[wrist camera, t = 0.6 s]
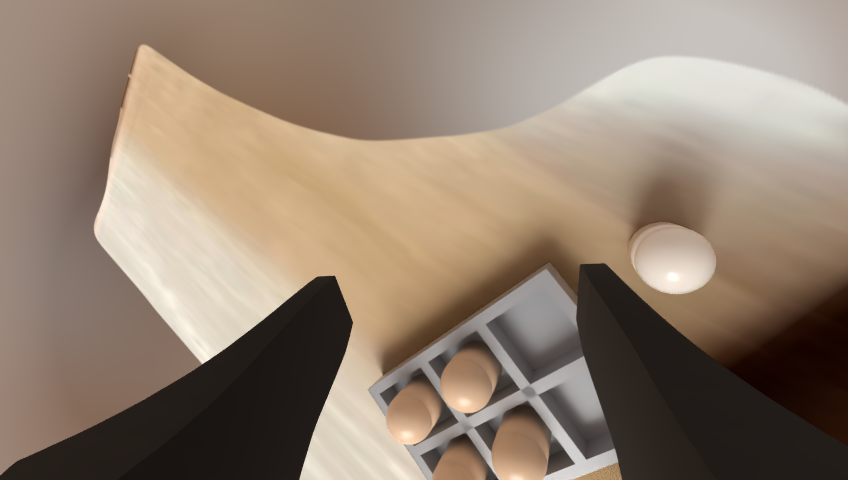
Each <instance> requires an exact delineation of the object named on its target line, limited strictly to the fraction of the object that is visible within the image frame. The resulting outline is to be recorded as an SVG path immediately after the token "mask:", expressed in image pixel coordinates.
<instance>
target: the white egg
mask: <svg viewBox="0 0 848 480" xmlns="http://www.w3.org/2000/svg"><path fill="white" fill-rule="evenodd" d="M628 257H629V260H630V262H631V264H632V266H633V267H634V269H635V270H636V272H637V273H638V275H639V276H640V278H641V279H642V280H643V281H644V282H645V283H646V284H648V285H649V286H650V287H652V288H654V289H656V290H658V291H661V292H664V293H668V294H685V293H689V292H692V291H695V290H697V289H699V288H701V287H702V286H704V285H705V284H706V283H707V282H708V281H709V280H710V279H711V277H712V276H713V274H714V272H715V269H716V263H717V262H716V254H715V251H714V249H713V247H712V245H711V244H710V243H709V241H708V240H707V239H706V238H704V237H703V236H702V235H700V234H699V233H697V232H695V231H693V230H690V229H687V228H685V227H682V226H679V225H677V224H673V223H669V222H656V223H651V224H648V225H646V226H644V227H642V228H640V229H639V230H638V231H637V232H636V233H635V234H634V235H633V236H632V238H631V239H630V242H629V244H628Z"/></svg>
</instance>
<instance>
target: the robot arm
mask: <svg viewBox="0 0 848 480" xmlns="http://www.w3.org/2000/svg"><path fill="white" fill-rule="evenodd" d="M576 322H577V327H578V332H579V337H580V341H581V346H582V351H583V355H584V358H585V361H586V364H587V367H588V370H589V373H590V376H591V379H592V382H593V385H594V388H595V390H596V393H597V396H598V399H599V402H600V405H601V408H602V411H603V414H604V417H605V420H606V423H607V426H608V429H609V432H610V434H611V438H612V441H613V445H614V448H615V451H616V455H617V459H618V463H619V467H620V471H621V476H622V480H848V446H846V445H844V444H843V443H841V442H839V441H838V440H836V439H834V438H833V437H831V436H829V435H827V434H826V433H824V432H822V431H821V430H819V429H818V428H816V427H814V426H813V425H811V424H810V423H808V422H806V421H805V420H803V419H802V418H800V417H798V416H797V415H795V414H794V413H792V412H790V411H789V410H787V409H786V408H784V407H782V406H781V405H779V404H778V403H776V402H775V401H773V400H772V399H770V398H768V397H767V396H765V395H764V394H762V393H761V392H759V391H758V390H756V389H755V388H753V387H752V386H751V385H749V384H748V383H746V382H745V381H743V380H742V379H741V378H739V377H738V376H736V375H735V374H733V373H732V372H731V371H729V370H728V369H726V368H725V367H724V366H722V365H721V364H719V363H718V362H717V361H715V360H714V359H713V358H711V357H710V356H709V355H707V354H706V353H705V352H703V351H702V350H701V349H700V348H698V347H697V346H696V345H695V344H693V343H692V342H691V341H690V340H688V339H687V338H686V337H685V336H683V335H682V334H681V333H680V332H679V331H677V330H676V329H675V328H674V327H673V326H671V325H670V324H669V323H668V322H667V321H666V320H665V319H663V318H662V317H661V316H660V315H659V314H658V313H657V312H656V311H654V310H653V309H652V308H651V307H650V306H649V305H648V304H647V303H646V302H645V301H643V300H642V299H641V298H640V297H639V296H638V295H637V294H636V293H635V292H634V291H633V290H632V289H631V288H630V287H629V286H628V285H627V284H626V283H625V282H624V281H623V280H622V279H620V278H619V277H618V276H617V275H616V274H615V273H614V272H613V271H612V270H611V269H610V268H609V267H608V266H607V265H606V264H605V263H601V264H580V271H579V285H578V298H577V312H576ZM352 325H353V321H352V318H351V316H350V313H349V311H348V308H347V306H346V303H345V300H344V298H343V295H342V293H341V290H340V288H339V285H338V283H337V280H336V277H335V276H320V277H316V278H315V279H313V280H312V281H311V282H309V283H308V284H307V285H305V286H304V287H303V288H302V289H300V290H299V291H298V292H297V293H295V294H294V295H293V296H292V297H291V298H289V299H288V300H287V301H286V302H285V303H283V304H282V305H281V306H280V307H278V308H277V309H276V310H275V311H274V312H272V313H271V314H270V315H269V316H267V317H266V318H265V319H264V320H262V321H261V322H260V323H259V324H257V325H256V326H255V327H253V328H252V329H251V330H249V331H248V332H247V333H246V334H244V335H243V336H242V337H240V338H239V339H238V340H236V341H235V342H234V343H232V344H231V345H230V346H228V347H227V348H226V349H224V350H223V351H221V352H220V353H219V354H217V355H216V356H214V357H213V358H211V359H210V360H208V361H207V362H205V363H204V364H202V365H201V366H199V367H198V368H196V369H195V370H193V371H192V372H190V373H188V374H187V375H185V376H184V377H182V378H180V379H179V380H177V381H175V382H174V383H172V384H170V385H168V386H167V387H165V388H163V389H162V390H160V391H158V392H157V393H155V394H153V395H151V396H150V397H148V398H146V399H145V400H143V401H141V402H139V403H137V404H135V405H133V406H132V407H130V408H128V409H126V410H124V411H123V412H120V413H118V414H117V415H115V416H113V417H111V418H109V419H107V420H105V421H103V422H101V423H99V424H97V425H95V426H93V427H91V428H89V429H87V430H85V431H83V432H80V433H78V434H76V435H74V436H72V437H70V438H67V439H65V440H63V441H61V442H59V443H56V444H54V445H52V446H50V447H48V448H46V449H43V450H41V451H39V452H37V453H35V454H33V455H30V456H28V457H26V458H23V459H21V460H19V461H17V462H15V463H14V464H13V465H12V466H11V467H9V468H8V469H7V470H6V471H5V472H4V473H3V474H2V475H0V480H299V478H300V475H301V471H302V467H303V464H304V461H305V458H306V454H307V451H308V448H309V444H310V441H311V438H312V435H313V432H314V429H315V426H316V424H317V421H318V418H319V416H320V413H321V411H322V409H323V406H324V404H325V401H326V399H327V397H328V394H329V392H330V389H331V387H332V384H333V382H334V380H335V377H336V375H337V372H338V370H339V367H340V365H341V362H342V360H343V357H344V355H345V352H346V348H347V345H348V341H349V337H350V333H351V329H352Z"/></svg>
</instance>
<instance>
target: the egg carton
mask: <svg viewBox="0 0 848 480" xmlns="http://www.w3.org/2000/svg"><path fill="white" fill-rule="evenodd" d="M577 298H578V296H577V295H576V294H575V292H574V291H573V290H572V289H571V288H570V286H569V285H568V284H567V283H566V281H565V280H564V279H563V278H562V276H561V275H560V274H559V273H558V271H557V270H556V269H555V268H554V266H553V265H552V264H551V263H550V262H548V263H547V264H545V265H544V266H542V267H541V268H539V269H538V270H537V271H535V272H534V273H532V274H531V275H529V276H528V277H526V278H525V279H523V280H522V281H520V282H519V283H518V284H516V285H515V286H513V287H512V288H510V289H509V290H507V291H506V292H504V293H503V294H501V295H500V296H498V297H497V298H496V299H494V300H493V301H491V302H490V303H488V304H487V305H485V306H484V307H482V308H481V309H479V310H478V311H477V312H475V313H474V314H472V315H471V316H469V317H468V318H466V319H465V320H463V321H462V322H460V323H459V324H458V325H456V326H455V327H453V328H452V329H450V330H449V331H447V332H446V333H444V334H443V335H441V336H440V337H439V338H437V339H436V340H434V341H433V342H431V343H430V344H428V345H427V346H425V347H424V348H422V349H421V350H420V351H418V352H417V353H415V354H414V355H412V356H411V357H409V358H408V359H406V360H405V361H403V362H402V363H401V364H399V365H398V366H396V367H395V368H393V369H392V370H390V371H389V372H387V373H386V374H384V375H383V376H382V377H381V378H380V379H379V380H377V381H376V382H375V383H374V384H373V385H372V386H371V387H370V388H369V389H368V391H369V393H370V394H371V396H372V397H373V399H374V400H375V402H376V403H377V405H378V406H379V408H380V409H381V411H382V412H383V414H384V415H385V417H386V424H387V428H388V430H389V432H390V434H391V435H392V437H393V438H394V439H395V440H397V441H398V442H400V443H403V444H404V446H405V447H406V449H407V450H408V452H409V453H410V455H411V456H412V458H413V459H414V461H415V462H416V464H417V465H418V467H419V468H420V470H421V471H422V473H423V474H424V476H425V477H426V479H427V480H572V479H575V478H578V477H580V476H583V475H585V474H588V473H591V472H593V471H596V470H599V469H601V468H604V467H607V466H609V465H612V464H615V463H617V462H618V459H617V455H616V451H615V448H614V445H613V441H612V438H611V434H610V432H609V429H608V426H607V423H606V420H605V417H604V414H603V411H602V408H601V405H600V402H599V399H598V396H597V393H596V390H595V388H594V385H593V382H592V379H591V376H590V373H589V370H588V367H587V364H586V361H585V358H584V355H583V351H582V346H581V341H580V337H579V332H578V327H577V322H576V312H577Z"/></svg>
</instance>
